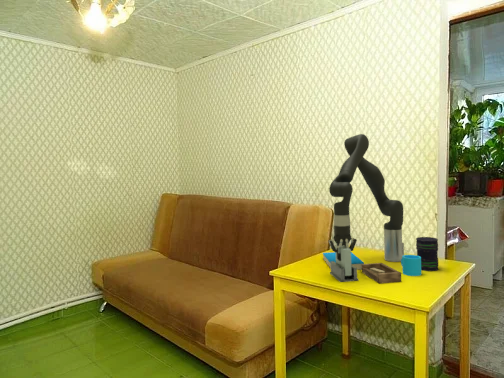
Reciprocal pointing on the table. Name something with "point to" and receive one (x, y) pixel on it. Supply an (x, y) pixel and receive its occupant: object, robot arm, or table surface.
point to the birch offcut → (376, 270)
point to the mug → (411, 265)
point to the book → (332, 257)
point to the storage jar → (427, 253)
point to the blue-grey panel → (345, 260)
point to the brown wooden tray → (386, 277)
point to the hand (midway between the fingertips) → (343, 260)
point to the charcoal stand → (339, 273)
